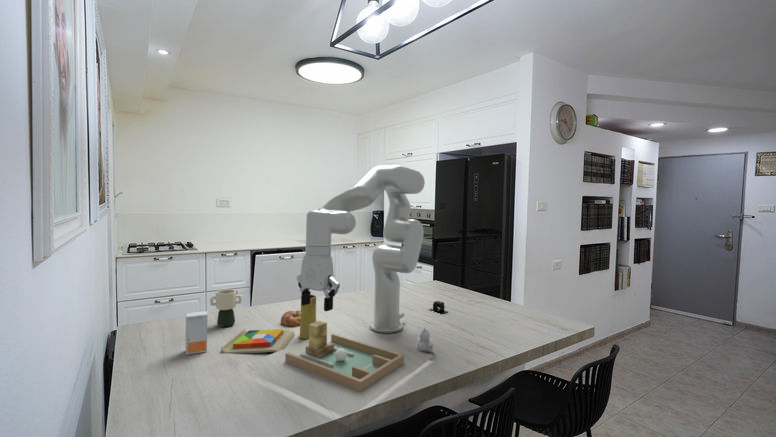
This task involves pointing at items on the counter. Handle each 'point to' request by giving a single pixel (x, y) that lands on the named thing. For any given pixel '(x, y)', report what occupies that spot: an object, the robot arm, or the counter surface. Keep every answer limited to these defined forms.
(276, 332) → the wooden puzzle
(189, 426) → the counter surface
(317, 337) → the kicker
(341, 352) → the ball
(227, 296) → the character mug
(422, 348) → the grey figurine
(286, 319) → the sesame bagel
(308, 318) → the vase
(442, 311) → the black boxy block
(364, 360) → the pitch
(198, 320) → the skincare box
